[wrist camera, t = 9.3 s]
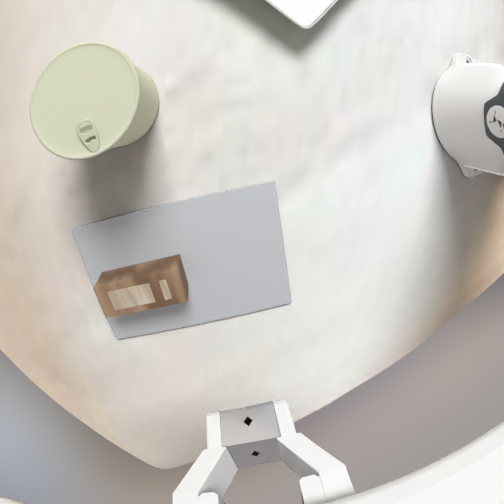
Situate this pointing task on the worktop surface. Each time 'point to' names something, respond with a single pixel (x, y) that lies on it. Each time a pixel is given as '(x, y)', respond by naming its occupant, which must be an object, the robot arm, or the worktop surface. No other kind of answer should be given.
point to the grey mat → (197, 255)
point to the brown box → (142, 286)
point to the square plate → (303, 10)
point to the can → (92, 101)
